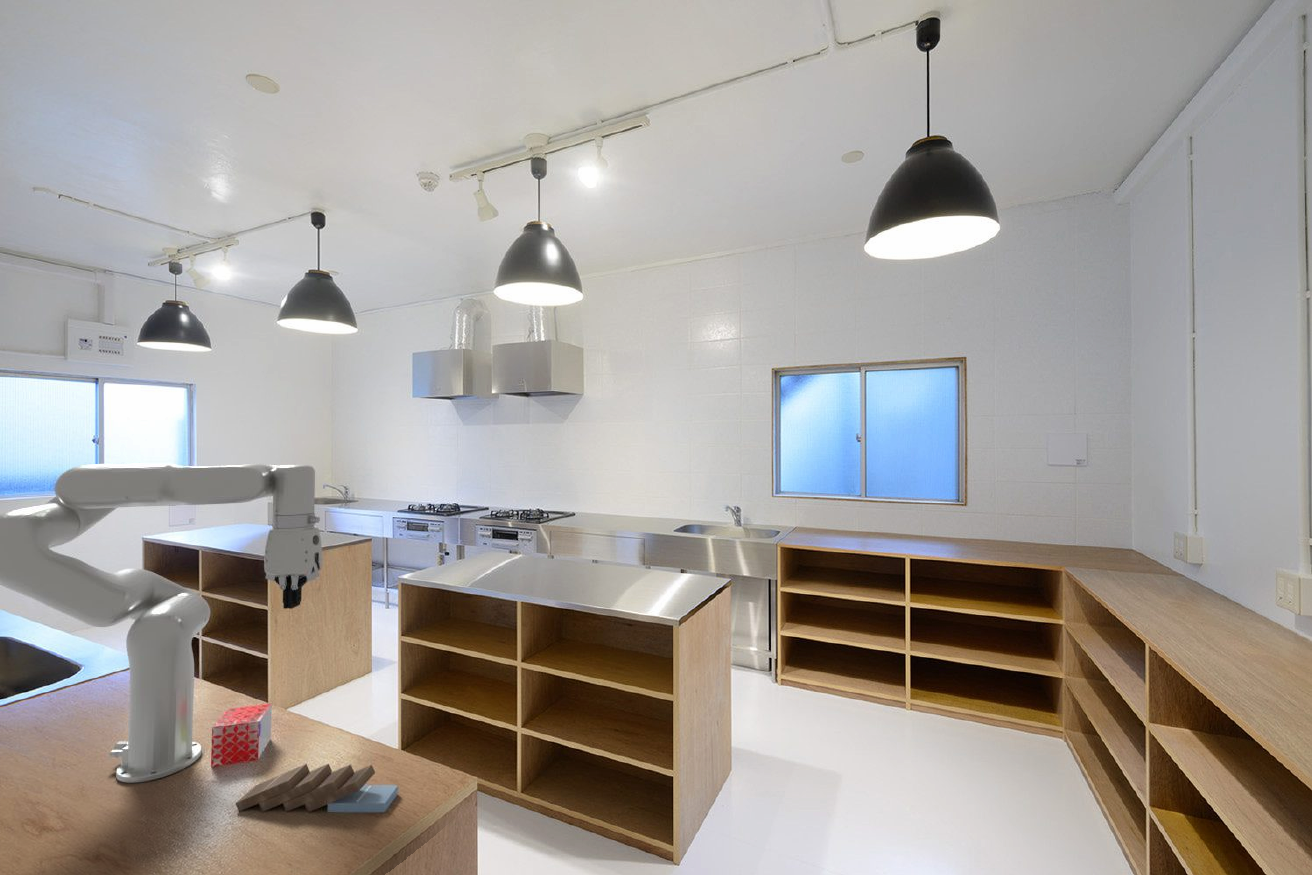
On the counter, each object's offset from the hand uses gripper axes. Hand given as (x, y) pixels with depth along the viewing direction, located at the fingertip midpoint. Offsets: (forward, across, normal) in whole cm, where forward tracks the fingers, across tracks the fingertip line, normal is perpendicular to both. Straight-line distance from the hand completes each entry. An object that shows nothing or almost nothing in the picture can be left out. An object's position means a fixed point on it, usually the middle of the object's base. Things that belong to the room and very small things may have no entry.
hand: (291, 606), depth 117 cm
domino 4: (+28, -17, +20) cm, 39 cm away
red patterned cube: (+29, +7, +4) cm, 31 cm away
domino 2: (+28, -9, +20) cm, 36 cm away
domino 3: (+28, -13, +20) cm, 37 cm away
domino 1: (+28, -5, +20) cm, 35 cm away
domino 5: (+29, -21, +20) cm, 40 cm away
